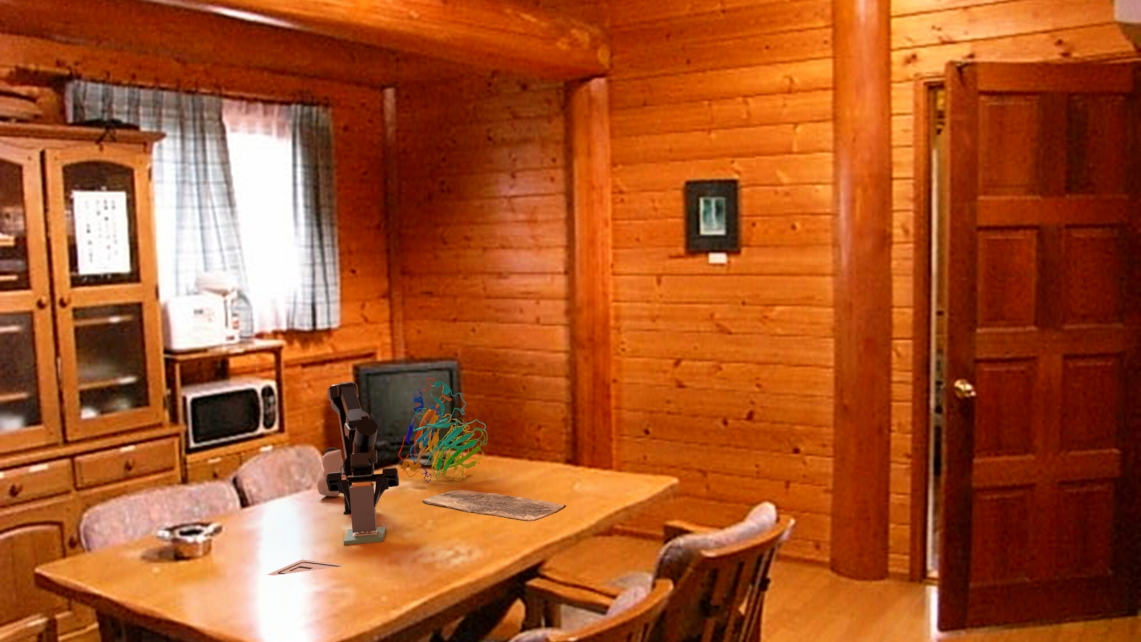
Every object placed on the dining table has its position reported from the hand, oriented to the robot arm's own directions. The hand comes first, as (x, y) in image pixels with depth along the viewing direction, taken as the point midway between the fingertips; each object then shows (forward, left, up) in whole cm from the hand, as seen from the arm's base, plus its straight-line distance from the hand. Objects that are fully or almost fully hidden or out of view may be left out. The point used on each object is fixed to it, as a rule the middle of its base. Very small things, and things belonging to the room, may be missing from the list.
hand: (362, 506), depth 264 cm
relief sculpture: (+31, +29, -9) cm, 43 cm away
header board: (0, +1, -8) cm, 9 cm away
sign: (-1, -28, -9) cm, 29 cm away
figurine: (-22, +49, -9) cm, 55 cm away
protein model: (+11, +68, -9) cm, 70 cm away
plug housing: (0, +1, -7) cm, 7 cm away
